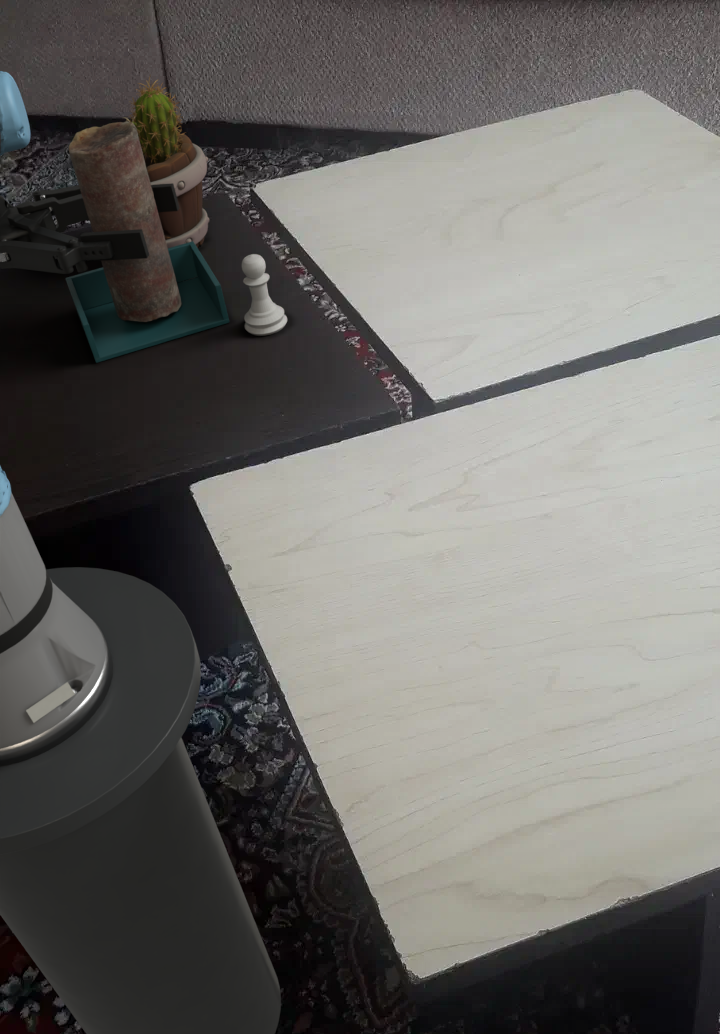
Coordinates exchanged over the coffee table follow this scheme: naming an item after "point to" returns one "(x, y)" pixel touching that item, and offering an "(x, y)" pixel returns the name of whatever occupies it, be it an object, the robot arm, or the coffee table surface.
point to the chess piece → (260, 299)
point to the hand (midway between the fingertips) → (160, 219)
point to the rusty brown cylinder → (125, 218)
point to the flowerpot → (172, 165)
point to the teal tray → (125, 336)
